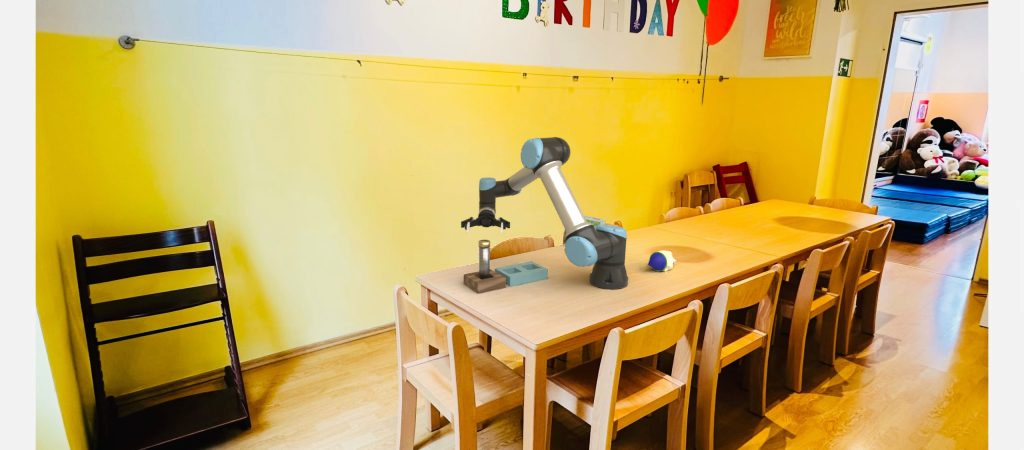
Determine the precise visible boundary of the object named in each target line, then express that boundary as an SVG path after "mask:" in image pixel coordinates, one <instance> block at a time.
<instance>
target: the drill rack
mask: <svg viewBox="0 0 1024 450" xmlns="http://www.w3.org/2000/svg"><path fill="white" fill-rule="evenodd" d="M494 272H496V273H498V274H500V275H502V276H503V277H505V278H506V286H508V287H509V288H511V287H516V286H521V285H525V284H529V283H534V282H539V281H543V280H544V281H545V280H548V279H549V269H548V267H547V268H546V267H544V266H542V265H540V264H538V263H536V262H534V261H526V262H525V261H524V262H521V263H516V264H511V265H505V266H501V267H500V266H499V267H496V268H494Z"/></svg>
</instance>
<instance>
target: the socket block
mask: <svg viewBox="0 0 1024 450" xmlns="http://www.w3.org/2000/svg"><path fill="white" fill-rule="evenodd" d="M463 285H465V286H466V287H467V288H469V289H470V290H472V291H474V292H475V293H476V294H478V295H479V294H483V293H487V292H488V293H489V292H492V291H493V292H494V291H497V290H502V289H507V285H506V278H505V277H503V276H502V275H500V274H498V273H496V272H495V270H492V269H491V268H490V278H488V279H483V280H481V279H479V270H478V271H473V272H468V273H463Z"/></svg>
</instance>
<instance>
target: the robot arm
mask: <svg viewBox="0 0 1024 450" xmlns="http://www.w3.org/2000/svg"><path fill="white" fill-rule="evenodd" d="M520 151H521V152H520V162H521V164H522V166H523V167H522V168H521V169H519V170H518V171H516V172H515V173H513V174H512V175H510V176H509V177H507V178H506V179H504V180H497V179H496V178H494V177H481V178H480V179H479V182H478V194H479V195H478V201H479V202H478V214H477V217H476V218H475V217H473V216H470V217H469V218H467V219H465V220H464V219H463V220H461V221H460V228H461V229H462V228H464V230H465V231H466V234H469V232H470V230H471V229H470V228H473V227H482V228H490V227H498V228H499V229H500V234H503V233H504V230H506V229H510V228H511V222H510V221H508V220H506V219H504V218H503V217H498V218H496V214H497V213H496V212H497V207H496V203H497V202H496V201H497V198H498V199H499V198H504V197H512V196H513V197H514V196H516V195H519V194H520V193H521V191H522V189H524V188H525V187H527V186H528V185H530V184H531V183H532V182H535V181H537V180H538V179H540V180H541V183H542V185H543V186H544V188H545V191H546V193H547V195H548V196H549V199H550V201H551V203H552V205H553V206H554V209H555V211H556V213H557V215H558V218H559V219H560V221H561V223H562V226H563V228H564V231H565V230H566V236H565V239H566V243H564V254H565V257H567V259H568V261H569V262H570V263H571V264H573V265H575V266H577V267H580V268H585V267H590V266H591V267H592V266H593V267H592V270H591V273H590V274H589V283H590V285H592V286H594V287H597V288H600V289H604V290H605V289H606V290H619V289H623V288H625V287H626V288H627V286H628V284H629V277H628V275H627V274H628V273H627V270H626V265H625V264H626V250H627V239H628V238H627V236H628V235H627V234H628V233H627V230H626V229H625V228H624V227H623V226H622V227H621V226H618V225H613V224H605V225H603V224H602V225H597V227H596V230H595V228H594V226H593V224H591V223H588V222H587V221H586V219H585V217H584V216H585V215H584V213H583V210H582V209H581V207H580V205H579V203H578V200H577V199H576V197H575V195H574V193H573V191H572V189H571V187H570V184H569V183H568V181H567V179H566V177H565V175H564V173H563V171H562V169H561V168H562V166H564V165H565V164H566V163H567V162H568V161H569V160H570V157H571V148H570V145H569V143H568V142H567V141H566V140H565V139H564V138H561V137H559V136H553V137H552V136H551V137H535V138H530V139H527V140H526V141H524V143H523V145H522V147H521V149H520Z"/></svg>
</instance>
